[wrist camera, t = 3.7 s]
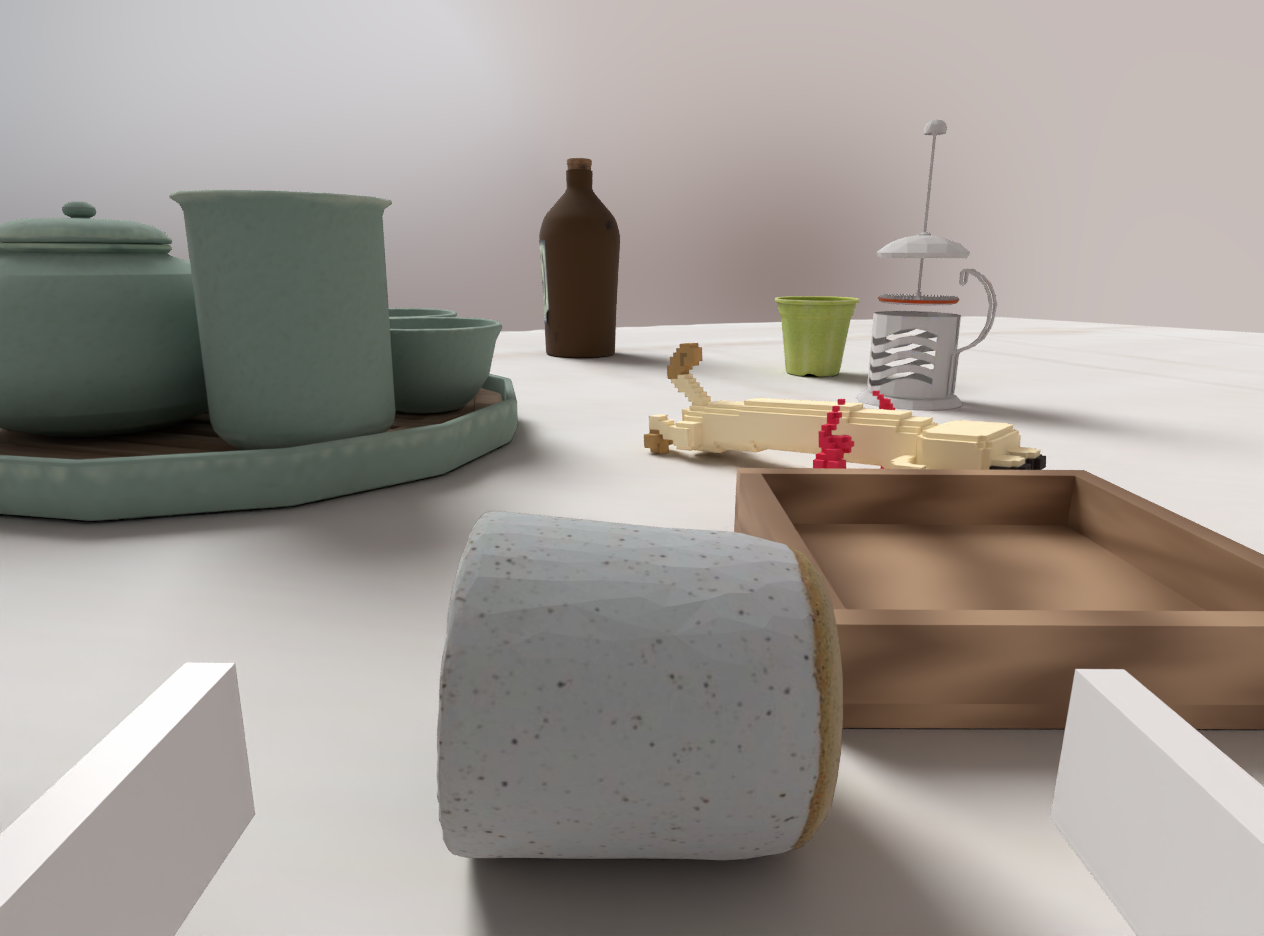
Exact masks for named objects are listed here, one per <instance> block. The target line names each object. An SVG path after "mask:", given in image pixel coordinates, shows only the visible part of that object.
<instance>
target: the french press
mask: <svg viewBox="0 0 1264 936" xmlns="http://www.w3.org/2000/svg"><path fill="white" fill-rule="evenodd" d="M946 130H947V126H946V123H945V122H944V121H942V120H932V121H930V122H929V123H928V124H927V125H926V126H925V129H924V134H925V135H933V145H932V155H931V164H930V174H929V184H928V194H927V203H926V213H925V223H924V232H923V233H920V234H918V235H916V236H911V237H906V238H901V239H899V240H896V241H894V242H891V243H889V244H887V245H886V246H885V247H883V248H882V249H881V250H879V251H878V252H876V253H877V255H878V257H886V258H921V263H920V273H919V284H918V292H917V293H916V296H914V294H913V295H912V296H911V295H909V296H908V295H907V296H906V295H904V294H902V295H901V294H900V295H901V296H899V295H898V294H896V295H895V294H891V295H892V296H891V295H890V294H889V295H888V294H885V295H880V296H879V297H878V299H879V301H881V302H884V303H889V304H905V305H952V304H956V303H957V302H958V301H959V298H958V297H955V296H950V297H951V298H950V297H949V296H945V297H944V296H940V297H938V296H937V297H935V295H934V296H933V297H931V296H932V295H931V296H930V297H928V295H927V296H925V295H924V296H921V292H920V287H921V277H922V267H923V258H967V257H968V256H969V254H970V252H969V251H968V250H967V249H966V248H964V247H963V246H962V245H961V244H959V243H956V242H953V241H950V240H948V239H945V238H941V237H935V236H931V234H930V233H928V232H926V228H927V218H928V208H929V198H930V189H931V179H932V169H933V159H934V149H935V139H936V135H940V134H945V133H946ZM964 272H965V278H964V283H963V274H964ZM969 273H970V274H972V275H974V276H975V277H977V278H978V280H979V281H980V282H982V284H983V285H984V287H985V290H986V292H987V295H988V301H989V310H988V316H987V322H986V325H985V327H984V329H983V330H982V332H981V334H980V335H979V337H978V338H977V339H976V340H975V341H974V342H972V343H971V344H970V345H969V346H966V347H963V348H961V349H958V350H957V345H958V336H959V327H960V318H961V315H958V314H950V313H938V312H916V311H885V312H875V313H874V318H873V329H872V340H871V351H870V363H869V374H868V385H867V389H864V390H863V391H862V392H861V393H860V394H859V395H858V396H857V397H855V398H856V399H857V400H858V401H860V402H864V403H867V404H871V405H876V406H879V400H877V396H872V395H873V391H875V390H877V391H880V393H879V394H884V398H888V399H891V403H893V407H895V408H898V409H910V410H943V409H953V408H957V407H961V406H962V402H961V401H960V400H959V398H958V397H957V396H956V395H954V390H955V382H956V374H957V366H958V357H959V354H960V352H962V351H964V350H966V349H969V348H971V347H974V346H976V345H977V344H978V343H980V342H981V341H982V340H983V339H985V337H986V336H987V334H988V332H989V331H990V329H991V327H992V324H993V322H994V317H995V312H996V307H997V301H996V295H995V293H994V290H993V287H992V284H991V283H990V282H989V281H988V280H987V278H986V277H985V276H984V275H982V274H981V273H979V272H977V271H976V270H974V269H964V270H963V271H961V272H960V284H961V285H962V286H963V285H965V284H966V283H967V279H968V274H969ZM980 276H981V277H982V279H983V280H984V281H985V282H986V283H987V284H988V286H989V288H990V291H991V293H992V297H993V302H994V304H993V313H992V319H991V311H992V299H991V294H990V291H989V289H988V286H987V284H986V283H985V282H984V281H983V280H982V279H981V277H980ZM894 295H895V296H894ZM897 295H898V296H897ZM893 302H895V303H893ZM990 320H991V321H990ZM989 322H990V324H989ZM988 325H989V326H988ZM987 327H988V328H987ZM915 329H920V330H925V331H926V332H924V333H921V334H919V335H916V336H908V337H901V338H898V339H895V340H893V341H892V340H888V339H886V336H888V335H891V334H895V335H896V334H901V333H906V332H910V331H912V330H915ZM934 337H937V342H934V341H932V340H929V339H928V338H934ZM912 343H914V344H918V345H923V346H920V347H917V348H915V349H912V350H908V351H901V352H897V353H894V354H891V353H886V352H885V351H886V350H889V349H891V348H898V347H903V346H907V345H910V344H912ZM934 350H935V351H936V352H935V356H932V355H930V354H927V353H923V352H927V351H934ZM906 358H916V359H918V360H916V361H913V362H911V363H908V364H904V365H899V366H894V367H890V366H886V365H885V364H887V363H890V362H892V361H896V360H901V359H906ZM923 364H933V365H934V369H931V370H930V369H928V368H925V367H921V366H920V365H923ZM903 372H914V374H911V375H908V376H906V377H901V378H896V379H886V378H885V377H888V376H891V375H893V374H896V373H903Z"/></svg>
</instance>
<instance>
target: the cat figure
mask: <svg viewBox="0 0 1264 936" xmlns="http://www.w3.org/2000/svg"><path fill="white" fill-rule="evenodd" d="M676 350H677V352H676V353H673V357H670V366H667V374H668V379H671V383H674V384H675V388H678V392H685V397H688V399H689V401H691V402H692V406H689V408H686V409H682V419H683V421H681V422H677V423H676V424H674V420H668V419H667V415H659V414H657V415H652V416H649V429H650V433H649V434H645V435H644V447H645V448H650V450H651V452H653V453H658V454H663V453H666V452H669V445H671V444H674V446H677V449H680V450H689V451H691V450H698V451H707V452H715V453H720V452H724V451H728V450H738V451H747V452H760V451H763V450H766V449H772V450H782V451H791V452H801V453H811V454H816V459H815V460H813V468H824V469H846V462H850V463H859V464H869V465H878V466H881V469H966V470H1042V469H1043V468H1045V467H1046V456H1042V454H1040V450H1036V448H1024V447H1020V435H1019V430H1015V429H1013V424H1009V423H995V422H979V421H963V420H959V421H949V422H947V423H944V424H941V425H938V423H935V422H932V419H933V418H929V417H914V416H912V411H899V410H895V407H893V403H891V399H888V398H884V394H879V393H880V391H877V390H875V391H873V395H872V396H877V400H879V409H865V408H863V403H845V399H838V402H826V401H806V400H787V399H768V398H754V399H750V400H745V401H744V402H739V401H722V400H720V401H715V402H711V399H710V396H707V392H704V391H703V387H700V383H696V378H693V374H689V370H691V369H692V366H696V365H699V361H702V347H698V343H684V344H680V348H676ZM881 409H884V410H881Z"/></svg>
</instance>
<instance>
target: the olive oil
mask: <svg viewBox="0 0 1264 936" xmlns="http://www.w3.org/2000/svg"><path fill="white" fill-rule="evenodd" d="M567 165H568V170H567V171H566V177H567V178H566V180H567V189H566V191H565V193H564V194H563V195H562V197H561V198H560V199H559V200H558V201H557V202H556V204H555V205H554V206H553V207H552V208H551V209H550V211H549V212H548V213H547V214H546V216H545V217H544V220H543V222H542V226H541V230H540V236H539V237H540V240H539V243H540V258H541V271H542V286H543V302H544V317H545V318H544V319H545V338H546V353H547V354H549V355H552V356H558V357H571V358H591V357H604V356H610V355H613V354H614V353H615V330H616V327H615V326H616V304H617V284H618V266H619V249H620V234H619V230H618V226H617V223H616V220H615V218H614V217H613V215H612V214H611V212H610V211H609V210H608V209H607V208H606V207H605V205H604V204H603V203H602V202H601V201H600V199H598V197H597V196H596V195H595V193H594V192H593V190H592V171H591V165H592V161H591V160H590V159H584V158H571V159H568V160H567Z"/></svg>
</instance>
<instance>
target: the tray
mask: <svg viewBox="0 0 1264 936" xmlns="http://www.w3.org/2000/svg"><path fill="white" fill-rule="evenodd" d="M734 532H735V533H743V534H747V535H750V536H754V537H758V538H762V539H765V540H769V541H773V542H777V543H781V544H785V545H788V546H790V547H792V548H794V549H796V550H798V551H800V552H802V553H804V554H805V555H806V557H807V558H808V559H809V560H810V562H811V563H812V564H813V565H814V567H815V568H816V569H817V570H818V571H819V573H820V574H821V576H822V578H823V580H824V582H825V585H826V587H827V590H828V593H829V596H830V599H831V602H832V606H833V610H834V615H835V619H836V624H837V631H838V638H839V646H840V653H841V664H842V675H843V725H842V728H1031V729H1065V727H1066V721H1067V715H1068V709H1069V704H1070V698H1071V692H1072V686H1073V680H1074V674H1075V669H1124V670H1125V671H1127V672H1128V673H1129V674H1130V675H1131V676H1133V677H1134V678H1135V679H1136V680H1137V681H1139V682H1140V683H1141V684H1142V685H1143V686H1144V687H1146V688H1147V689H1148V690H1149V691H1150V692H1152V693H1153V694H1154V695H1155V696H1156V697H1158V698H1159V699H1160V700H1161V701H1162V702H1164V703H1165V704H1166V705H1167V706H1168V707H1169V708H1171V709H1172V710H1173V711H1174V712H1175V713H1177V714H1178V715H1179V716H1180V717H1181V718H1183V719H1184V720H1185V721H1186V722H1187V723H1189V724H1190V725H1191V726H1192V727H1193V728H1195V729H1264V555H1263V554H1261V553H1259V552H1256V551H1254V550H1252V549H1250V548H1248V547H1246V546H1244V545H1242V544H1239V543H1237V542H1235V541H1233V540H1231V539H1229V538H1227V537H1225V536H1222V535H1220V534H1218V533H1216V532H1214V531H1212V530H1210V529H1208V528H1205V527H1203V526H1201V525H1199V524H1197V523H1195V522H1193V521H1191V520H1188V519H1186V518H1184V517H1182V516H1180V515H1178V514H1176V513H1174V512H1172V511H1169V510H1167V509H1165V508H1163V507H1161V506H1159V505H1157V504H1155V503H1152V502H1150V501H1148V500H1146V499H1144V498H1142V497H1140V496H1138V495H1135V494H1133V493H1131V492H1129V491H1127V490H1125V489H1123V488H1121V487H1118V486H1116V485H1114V484H1112V483H1110V482H1108V481H1106V480H1104V479H1101V478H1099V477H1097V476H1095V475H1093V474H1091V473H1089V472H1087V471H1084V470H966V469H824V468H737V482H736V504H735V526H734Z"/></svg>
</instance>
